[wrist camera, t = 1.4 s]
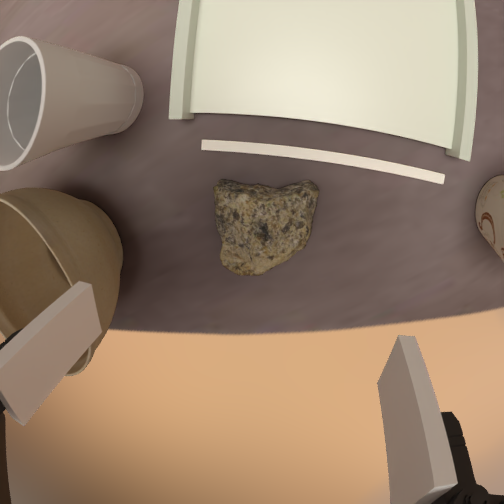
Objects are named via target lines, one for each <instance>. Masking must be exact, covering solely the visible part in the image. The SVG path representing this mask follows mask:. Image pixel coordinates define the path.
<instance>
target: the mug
mask: <svg viewBox="0 0 504 504" xmlns="http://www.w3.org/2000/svg"><path fill="white" fill-rule="evenodd" d="M475 216H476V223H477V226H478V229H479V231H480V232H481V234H482V235H483V237H484V238H485V239H486V240H487V242H488V243H489V244H490V245H491V247H492V248H493V249H494V250H495V252H496V253H497V254H498V255H499V257H500V258H501V259H502V261H503V262H504V175H500V176H496V177H494V178H492V179H490V180H489V181H488V182H487V183H486V184H485V185H484V186H483V188H482V190H481V191H480V193H479V196H478V199H477V203H476V210H475Z"/></svg>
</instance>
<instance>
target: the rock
mask: <svg viewBox="0 0 504 504" xmlns="http://www.w3.org/2000/svg"><path fill="white" fill-rule="evenodd" d="M213 190H214V198H215V216H216V219H215V221H216V227H217V229H218V232H219V235H220V236H221V240H222V243H223V244H222V248H221V252H220V259H221V262H222V264H223V265H224V267H225V268H227V269H229V270H230V271H232V272H234V273H235V274H237V275H251V276H259V275H263V273H265V271H269V270H271V269H272V268H273V267H274V266H276V265H279V264H281V263H282V262H285V261H288V259H289V258H290V257H292V256H293V255H294V254H295V253H296V252H297V251H299V250H302V249H303V248H305V246H306V242H307V241H308V238H309V236H310V233H311V229H312V226H311V224H312V222H313V214H314V210H315V207H316V206H317V197H318V194H319V190H318V188H317V186H316V185H315V186H314V184H313V183H312V182H310V180H305V181H302V182H300V183H295V184H292V185H289V186H286V187H283V188H281V189H275V188H271V187H269V186H264V185H262V186H261V185H260V184H256V185H254V186H250V185H246V184H240V183H237V182H234V181H231V180H225V179H221V180H220V181H219V182H218V183H217V186H215V187H213Z"/></svg>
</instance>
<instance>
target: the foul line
mask: <svg viewBox="0 0 504 504" xmlns="http://www.w3.org/2000/svg"><path fill="white" fill-rule="evenodd" d="M201 150H213V151H229V152H242V153H254V154H264V155H274V156H283V157H292V158H300V159H308V160H316V161H323V162H330V163H337V164H343V165H349V166H355V167H361V168H367V169H373V170H378V171H383V172H388V173H394V174H399V175H403V176H408V177H413V178H417V179H422V180H426V181H431V182H435V183H439V184H443V183H444V178H445V174H441V173H437V172H433V171H429V170H425V169H420V168H416V167H412V166H407V165H402V164H398V163H393V162H388V161H383V160H378V159H372V158H367V157H361V156H355V155H349V154H343V153H337V152H330V151H323V150H316V149H308V148H300V147H292V146H283V145H273V144H263V143H251V142H238V141H223V140H202V149H201Z"/></svg>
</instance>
